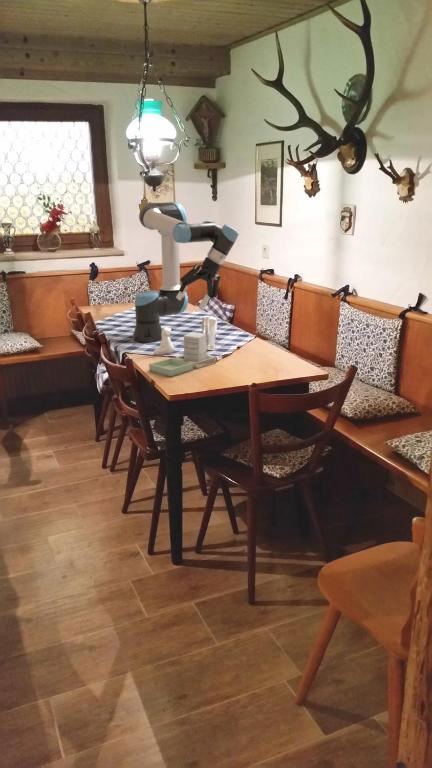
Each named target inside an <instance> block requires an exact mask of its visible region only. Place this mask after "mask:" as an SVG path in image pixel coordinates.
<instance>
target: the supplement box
mask: <svg viewBox="0 0 432 768" xmlns="http://www.w3.org/2000/svg"><path fill="white" fill-rule="evenodd" d="M183 355H184V360H187V361H191V362H195V363H196V362H199V361H203V360H206V355H207V350H206V334H203V332H194V331H193V332H192V331H191V332H189V333H186V334H185V335H183Z"/></svg>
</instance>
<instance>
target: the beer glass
mask: <svg viewBox="0 0 432 768" xmlns="http://www.w3.org/2000/svg"><path fill="white" fill-rule="evenodd" d="M201 330H202V332H201V333H203V334H206V351H207V350H212V351H215V350H214V349H216V350H217V344H216V338H217V331H218V318H217V316H214V315H213V316H212V315H206V316H203V317H202V319H201Z"/></svg>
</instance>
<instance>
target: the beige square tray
mask: <svg viewBox="0 0 432 768" xmlns="http://www.w3.org/2000/svg"><path fill="white" fill-rule="evenodd" d="M174 358H175V359H178V360H182V361H186V362H190V363H192V366H193V370H197V369H201V368H204V367H207V366H210V365H213V364H214V365H215V364H216V363H217V357H216V356H213V355H209V354H206V360H203V361H199V362H196V363H195V362H191V361H187V360H184V354H183V355H180V356H177V357H174Z"/></svg>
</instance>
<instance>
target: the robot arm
mask: <svg viewBox="0 0 432 768" xmlns="http://www.w3.org/2000/svg"><path fill="white" fill-rule="evenodd" d="M187 216H188V215H187V213H186V210H185V208H184V206H183V205H182V204H181V203H179V202H173V201H171V202H168V201H167V202H151V203H147V204H145V205H144V206H143V207H141V209H140V211H139V214H138V219H139V222H140V224H141V225H142V226H143V227H144V228H146V229H148V230H150V231H151V230H152V231H154V230H156V231H157V232H158V234H159V235H160V236H161V237H160V238H161V239H160V240H161V241H160V242H161V243H160V244H161V267H162V270H161V271H162V273H161V275H162V285H161V286H160V287H159V291H158V290H156V289H150V290H149V289H148V290H143V291H140V292H138V293H137V294H135V296H134V307H135V309H134V311H135V326H134V331H133V333H132V339H133V341H135V342H139V343H140V342H141V343H153V342H159V341H160V342H161V340H162V336H161V334H162V331H163V329H162V326H161V323H160V317H166V316H173V315H175V316H176V315H180V314H183V313H184V312H186V310H187V308H188V304H189V297H188V293H187V290H188V288H189V286H190V285H191V284H192V283H194V282H197V281H198V280H203V281H205V282H206V289H207V294H205V295H204V297H203V299H202V300H201V302H200V304H199V306H198V308H199V309H200V310H202V311H204V310H205V308H206V306H207V304H209V303H210V301H211V300H212V299H214V298H217V296H218V289H219V282H220V280H221V276H220V275H219V274H217V273H219V271H220V269H221V268H222V265H223V264H224V262H225V260H226V258H227V257H228V255H229V253H230V251H231V250H232V248H233V246H234V244H235V243H236V242H237V239H238V237H239V235H240V233H239V230H236V229H235V228H234V227H232V226H230V225H229V224H227V223H226V224H223V226H221V225H219V224H218V223H217V222H216V221H213V220H211V219H210V220H209V219H207V220H204V221H203V222H201V223H187V222H188V217H187ZM203 242H212V243H213V244H212V246H211V247H210V249H209V251H208V252H207V254H206V255H207V256H206V257H205V258H204V259H203V262H202V264H201V266H200V265H198V264H197V263H196V264H194V266H193V267H192V268H191V269H190V270H189V271H188V272H186V274H184V275H183V276H182V277H181V276H180V275H181V273H180V272H181V270H180V268H181V267H180V266H181V265H180V244H187V243H203ZM188 285H189V286H188Z"/></svg>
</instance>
